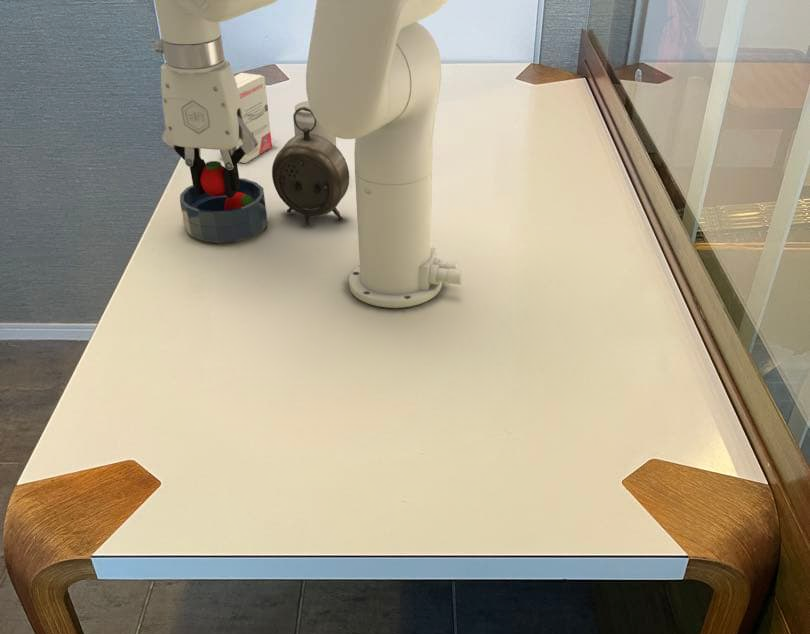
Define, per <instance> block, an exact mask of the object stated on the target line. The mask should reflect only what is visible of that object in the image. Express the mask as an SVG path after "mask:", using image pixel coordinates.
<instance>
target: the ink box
mask: <svg viewBox="0 0 810 634" xmlns="http://www.w3.org/2000/svg"><path fill="white" fill-rule="evenodd" d="M234 77H235V81H236V84H237V88H238V92H239V96H240V100H241V105H242V110H243V115H244V121H245V125H246V126H247V128H248V129H249V131H250V132H251V133H252V135H253V136H254V138H255V139H256V141H257V143H258V145H257V146H256V147H255V148H254V149H253V150H252V151H251V152H249V153H248V154H246V155H245V156H243V158H242V159H241V160H240V161H239V162H238V163H243V164H247V163H248V162H250V161H251V160H253V159H255V158H257V157H258V156H260V155H261V154H263V153H264V152H266V151H267V150H269V149H271V148H272V147H273V142H272V132H271V125H270V124H271V123H270V114H269V105H268V98H267V97H268V96H267V88H266V79H265V76H264V75H262V74H255V73H247V72H240V73H238V74H236V75H234ZM242 144H243V142H242V140H241V139H239V140H238V144H236V148H237V149H238V148H239V146H241V145H242Z"/></svg>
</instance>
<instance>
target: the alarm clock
mask: <svg viewBox="0 0 810 634" xmlns="http://www.w3.org/2000/svg"><path fill="white" fill-rule="evenodd" d="M300 110H308V111H309V112H311V114H312V115H313V113H312V111H311V109H309V108H307V107H300V108H298V109H297V110H296V111H294V112H293V115H294V120H293V124H294V123H295V125H296V126H297V128H298V129H299V130H301V131H303V133H304V134H300V135H297V136H295V135H294V136H293V137H291V138H290V139H289V140H288V141H287V142H286V143H285V144H284V146H283V147H281V149H280V150H279V151H278V153H277V154H276V156H275V157H274V159H273V162H272V168H271V177H272V178H271V179H272V182H273V186H274V189H275V191H276V193H277V195H278V196H279V198H280V200H282V201H283V203H284V204H285V205H286V206H287V207H288V208H287V209H286V212H287V214H290V213H292V211H294V212H296V213H298V214H299V215H302V216H304V225H305V226H307V227H308V226H309V225H310V219H311V217H312V218H316V217H317V218H318V217H322V216H326V215H327V214H329V213H331V212H333V214H334V215H335V216H336V217H337V219H338V221H340V222H341V221H343V219H344V218H343V216H342V215H341V213H340V211H339V210H338V209H337V206H338V205H339V203H340V202H341V201H342V199H343V198H344V197H345V196H346V193H348V189H349V185H350V171H349V166H348V164H347V161H346V158H345V156H344V155H343V153H342V152H341V150H340V149H339V148H338V147H337V145H336V146H335V145H334V144H333V143H331V142H330V141H329V140H327V139H326V138H324V137H321V136H319V135H316V134H310V133H309V132H310V131H312V130H313V129H314V128H315V126H316V122H317V120H316V119H315V117H314V115H313V117H314V120H315V123H314V126H313V128H312V129H309V128H307V127H306V128H304V129H302V128H300V127H299V126H298V124H297V122H296V114H297V113H298V112H299V111H300Z"/></svg>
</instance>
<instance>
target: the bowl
mask: <svg viewBox="0 0 810 634" xmlns="http://www.w3.org/2000/svg"><path fill="white" fill-rule="evenodd" d="M239 180H240V188H239V189H238V191H237V192H241V193H244V194H246V195H249V196H250V197H251V198H252V199H253V201H254V202H252V203H250V204H248V205H246V206H244V207H240V208H236V209H233V210H224V204H225V201H226V199H227V196H226V194H225V195H223V196H220V197H214V196H211V195H209V194H208V193H206V192H204V193H203V194H202V195H197V193H196V188H195V186H193V184H192V185H190V186H188V187H186V188H185V189H184V190H183V191H182V192H181V193H180V194H179V203H180V204H179V205H180V209H181V214H182V218H183V224H184V228H185V231H186V232H187V233H188V234H189V235H190V236H191V237H193V238H196V239H198V240H201V241H203V242H212V243H233V242H238V241H242V240H245V239H248V238H251V237H253V236H255V235H257V234H259V233H261V232H262V231H263V230H264V229H265V228H266V226H267V225H268V223H269V222H268V214H267V207H266V198H265V191H264V190H265V189H264V187H263V186H261V185H260V184H259V183H258V182H257V181H254V180H249V179H247V178H241V177H239Z"/></svg>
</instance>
